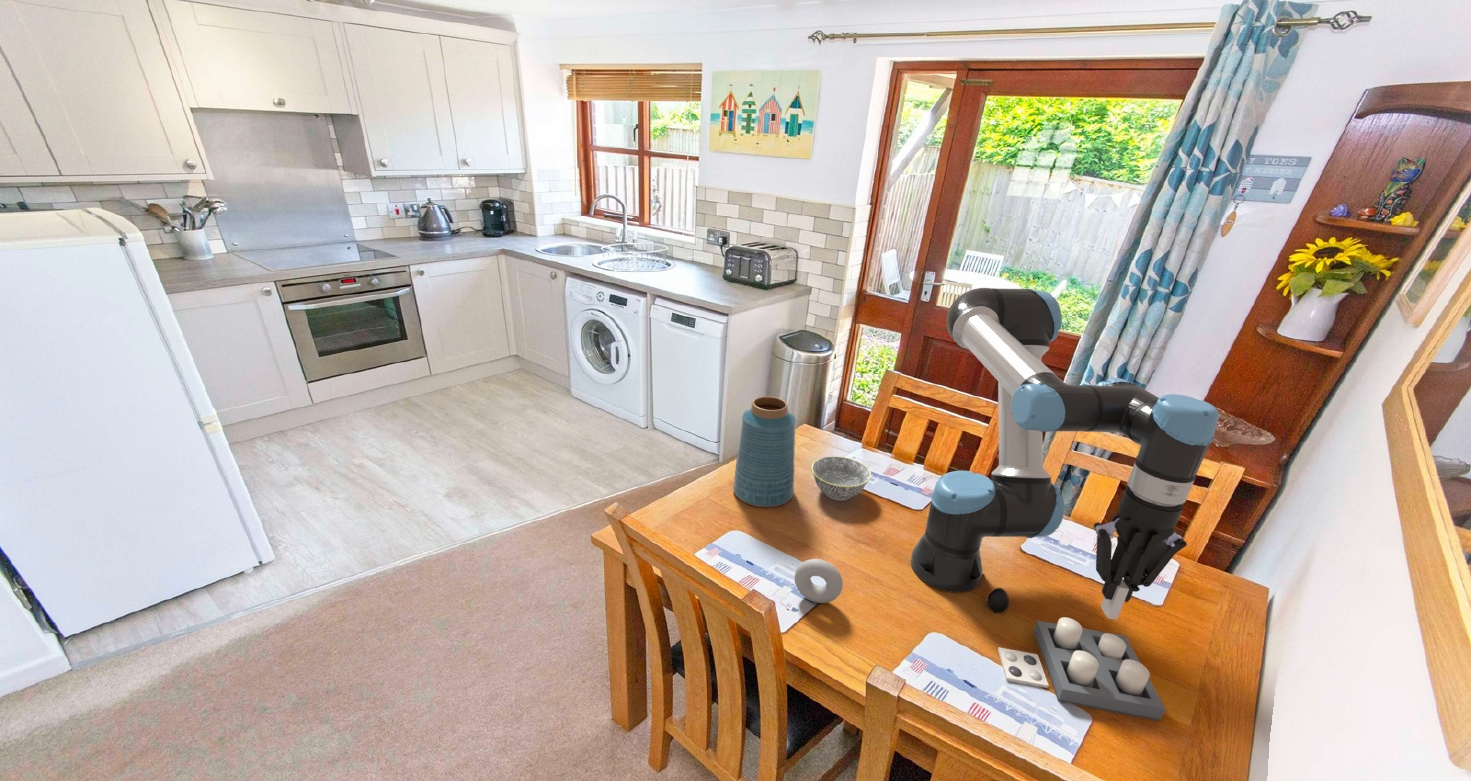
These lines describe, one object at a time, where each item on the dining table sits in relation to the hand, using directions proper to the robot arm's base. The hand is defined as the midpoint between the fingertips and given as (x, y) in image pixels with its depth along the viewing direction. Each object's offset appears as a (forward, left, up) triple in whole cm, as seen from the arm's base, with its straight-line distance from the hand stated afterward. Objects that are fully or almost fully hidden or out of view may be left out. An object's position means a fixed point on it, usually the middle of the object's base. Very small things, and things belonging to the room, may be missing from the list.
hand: (1108, 612), depth 97 cm
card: (-10, +1, -17) cm, 19 cm away
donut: (-48, +9, -17) cm, 52 cm away
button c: (-1, +7, -14) cm, 15 cm away
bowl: (-45, +51, -17) cm, 70 cm away
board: (+3, +3, -17) cm, 17 cm away
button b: (+7, -1, -14) cm, 15 cm away
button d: (+7, +7, -16) cm, 18 cm away
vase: (-65, +46, -17) cm, 82 cm away
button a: (-1, -1, -14) cm, 14 cm away
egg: (-11, +16, -17) cm, 26 cm away
